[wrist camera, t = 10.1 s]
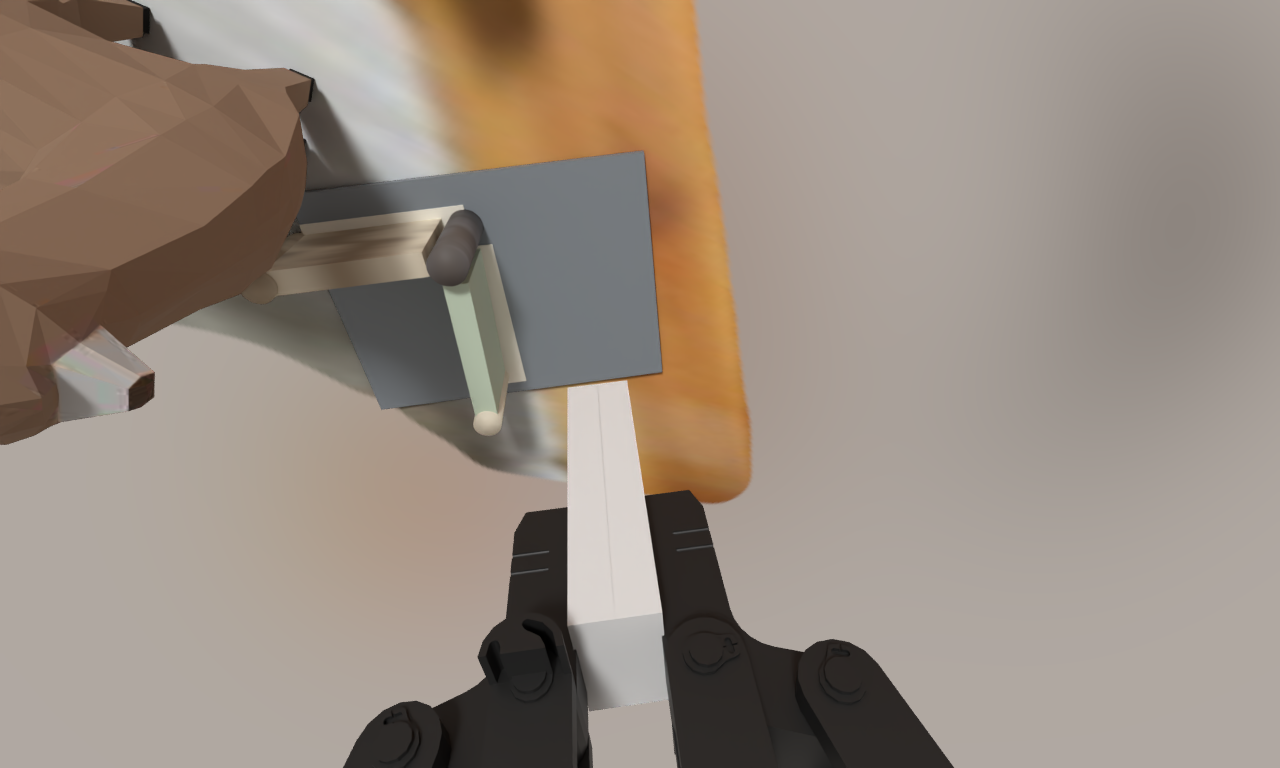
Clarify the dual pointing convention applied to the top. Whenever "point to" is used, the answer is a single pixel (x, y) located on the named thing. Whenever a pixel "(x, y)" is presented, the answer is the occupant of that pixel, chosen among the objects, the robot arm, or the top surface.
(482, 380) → the pale green flat piece
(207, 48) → the top surface
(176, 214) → the toy
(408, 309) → the card
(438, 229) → the fixed fence section
